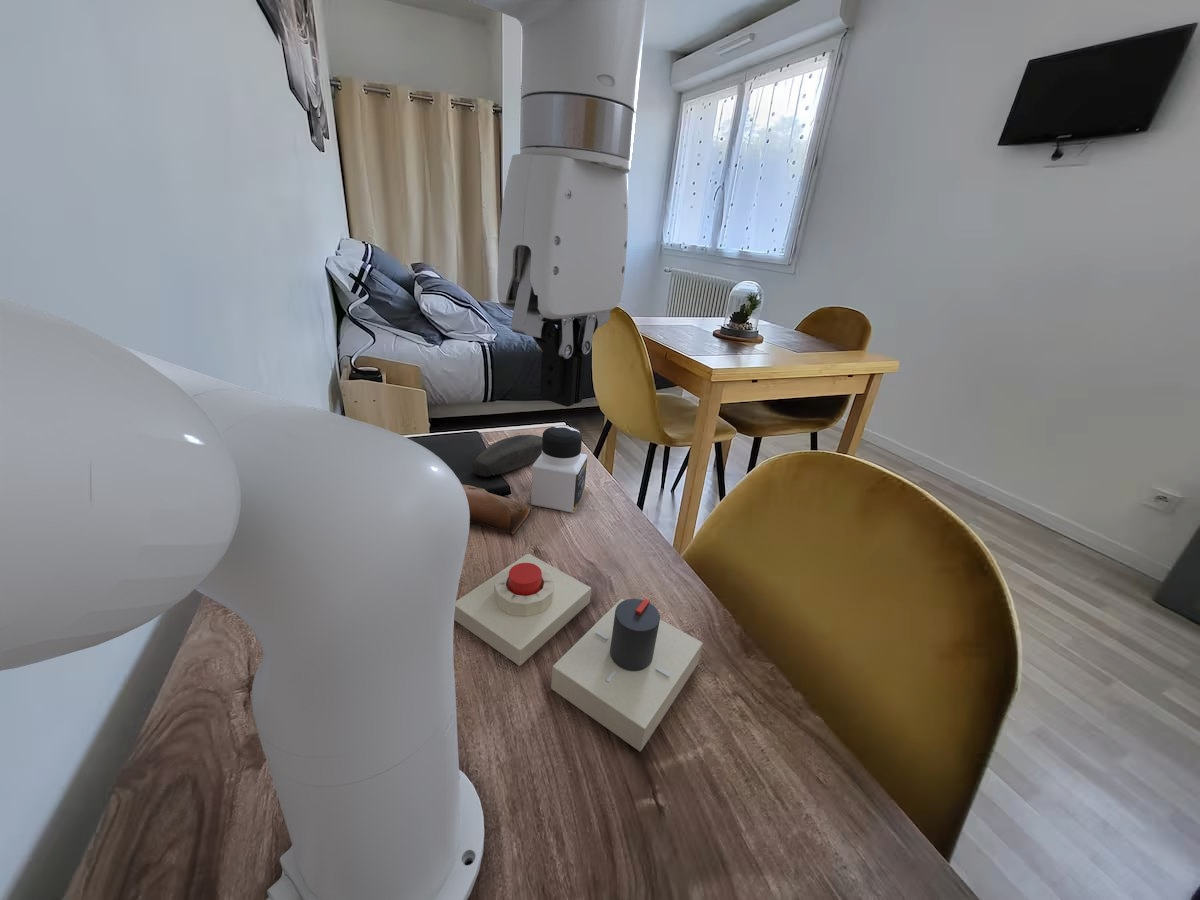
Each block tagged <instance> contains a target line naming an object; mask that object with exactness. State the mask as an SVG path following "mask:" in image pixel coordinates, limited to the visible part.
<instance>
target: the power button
mask: <svg viewBox="0 0 1200 900" xmlns="http://www.w3.org/2000/svg"><path fill="white" fill-rule="evenodd" d="M541 581H542V571H541V569H540V568H539V567H538V566H537V565H535V564H532V563H520V564H517V565H515V566H513V567H512V568H511V569H510V571H509V584H508V586H509V589H510V591H511V592H512V593H514V594H515V595H521V596H529V595H533V594H536V593H537V592H538V591H539V590H540V588H541Z"/></svg>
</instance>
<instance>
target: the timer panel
mask: <svg viewBox="0 0 1200 900" xmlns="http://www.w3.org/2000/svg"><path fill="white" fill-rule="evenodd" d="M624 600H625V599H623V598H620V599H619V600H618V601H617V602H616V603H615V604H614V605H613V606H612V607H611V608H610V609H609V610H608V611H607V612H606V613H605V614H604V615H603V616H602V617H601V618H600V619H598V621H596V623H595V624H594V625H592V627H591V628H590V629H588V630H587V632H586V633H584V634H583V636H582V637H580V638H579V639H578V640H577V641H576V642H575V644H574V645H572V646H571V647H570V648H569V649H568V650H567V651H566V652H565V653H564V654H563V655H562V656H561V657H560V658H559V659H558V660H557V661H556V662H555V663H554V664H553V665H552V667H551V668H552V669H551V681H550V682H551V683H550V684H551V685H550V689H551V690H552V691H554V692H555V693H556V694H558V695H559V696H561V697H562V698H563V699H565V700H567V701H568V702H569V703H570V704H572V705H573V706H575V708H578V709H579V710H580V711H582V712H583V713H584V714H586V715H587V716H589V717H591V719H593V720H594V721H596V722H597V723H599V724H600V725H601V726H603V727H605V728H606V729H607V730H609V732H611V733H612V734H614V735H616V736H617V737H618V738H620V739H621V740H622V741H624V742H625V743H627V744H628V745H630V746H631V747H632V748H634V749H635V750H637V751H638V752H642V751H643V749H644V747H646V744H647V743H648V741H649V740H650V738H651V736H652V735H653V734H654V732H655V731H656V729H657V727H658V726H659V724H660V723H661V722H662V720H663V719H664V717H665V715H666V714H667V712H668V711H669V709H670V708H671V706H672V705H673V703H674V701H675V700H676V698H677V697H678V695H679V694H680V692H681V691H682V689H683V688H684V686H685V685H686V683H687V682H688V680H689V678H690V677H691V675H692V674H693V673H694V671H695V670H696V668H697V667H698V665H699V662H700V658H701V653H702V650H703V645H704V642H703V641H702V640H701V641H700V640H699V639H697V638H695V637H693V636H692V635H690V634H688V633H686V632H684V631H682V630H680V629H679V628H676V627H674V626H673V625H672V624H670V623H668V622H665V620H662V619H660V622H659V627H658V633H657V638H656V643H655V649H654V654H653V659H652V662H651V664H650V665H649V666H648V667H647V668H645V669H643V670H640V671H629V670H625V669H623V668H621V667H619V666H618V665H617V664H616V663H615V662H614V661H613V660H612V658H611V655H610V646H611V639H612V631H613V624H614V617H615V610H616V607H617V606H618V604H619V603H621V602H622V601H624Z"/></svg>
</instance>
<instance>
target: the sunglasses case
mask: <svg viewBox="0 0 1200 900" xmlns="http://www.w3.org/2000/svg"><path fill="white" fill-rule="evenodd" d="M461 484H462V486H463V488H464V491H465V493H466V496H467V500H468V504H469V512H470V523H473V524H475V525H476V524H477V525H481V526H484V527H488V528H492V529H494V530H495V529H496V530H499V531H502V532H505V533H506V532H507V533H510V534H512V535H515V534H516V533H517V532H518V531H519V530H520V528H521V527H522V526H523V524H524V523H525V522H526V520H527V519H528V517H529V515H530V514H531V512H532V509H531V508H530V507H529V506H526V505H525V504H523V503H521V502H519V501H516V500H514V499H511V498H507V497H505V496H501V495H498V494H494V493H491V492H488V490H486V489H485V488H482V487H476V486H472V485H468V484H463V483H461Z"/></svg>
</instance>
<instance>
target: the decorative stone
mask: <svg viewBox="0 0 1200 900" xmlns="http://www.w3.org/2000/svg"><path fill="white" fill-rule="evenodd" d="M541 454H542V436H540V435H538V434H537V435H536V434H518V435H513V436H509V437H506V438H503V439H500V440H498V441H496V442H494V443H493V444H491V445H489V446H487V448H485V449H484V450H483V451H481V452H480V454H478V455H477V456H476V458H475V459H474V460H473V461H472V462H471V466H472V471H473V473H474V474H475V475H476V476H480V477H491V476H490V475H493V474H497V475H493V476H492V477H494V476H499V475H502V474H506V473H509V472H512V471H515V470H518V469H521V468H523V467H526V466H528V465H530V464H532V463H535V461H536V460H537V459H538V457H539V456H540V455H541ZM478 474H479V475H478ZM482 475H483V476H482Z"/></svg>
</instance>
